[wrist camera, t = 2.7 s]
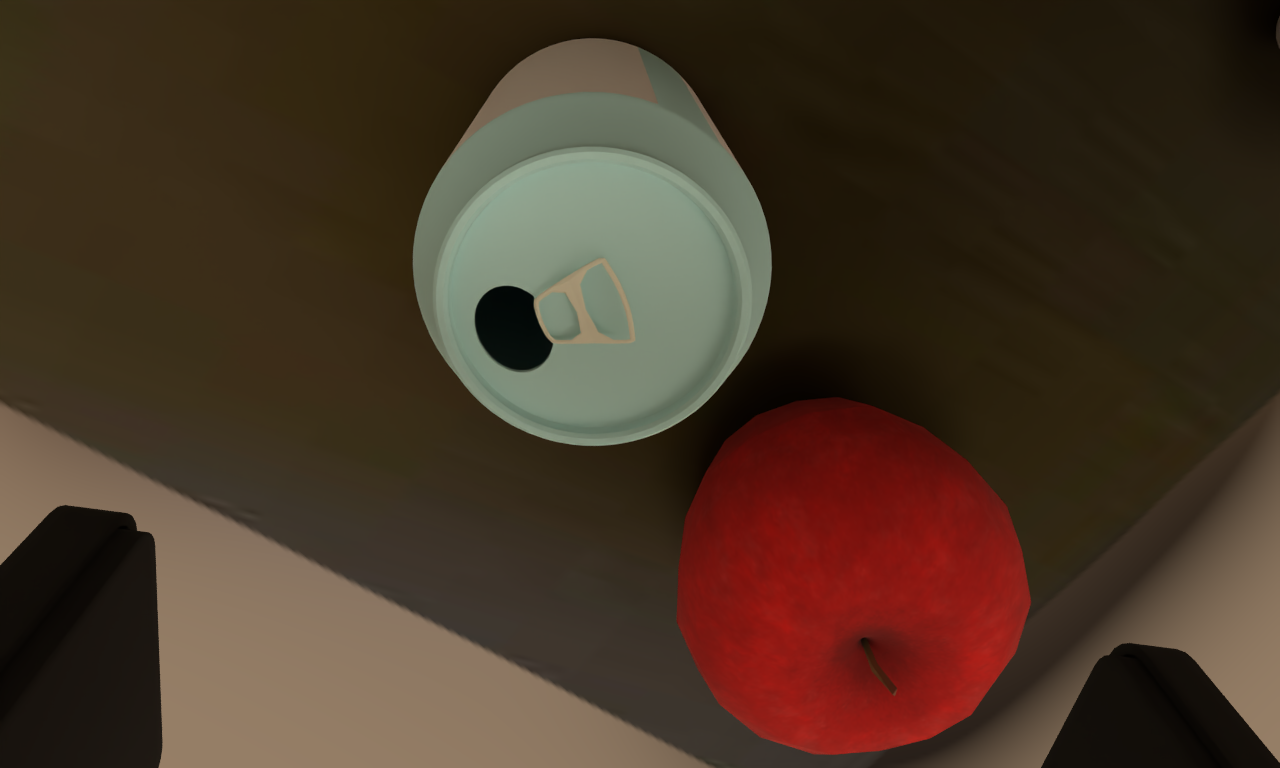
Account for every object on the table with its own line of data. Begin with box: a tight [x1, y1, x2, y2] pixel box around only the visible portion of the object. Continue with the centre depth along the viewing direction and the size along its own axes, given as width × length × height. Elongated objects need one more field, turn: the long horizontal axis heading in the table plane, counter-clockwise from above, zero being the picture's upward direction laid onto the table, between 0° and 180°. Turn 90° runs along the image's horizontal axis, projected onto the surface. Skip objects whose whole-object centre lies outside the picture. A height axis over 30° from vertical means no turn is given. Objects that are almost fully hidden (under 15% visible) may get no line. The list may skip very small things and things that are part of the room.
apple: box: [677, 397, 1031, 754], centre depth 27 cm, size 10×10×11 cm
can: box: [413, 38, 772, 446], centre depth 22 cm, size 7×7×12 cm
